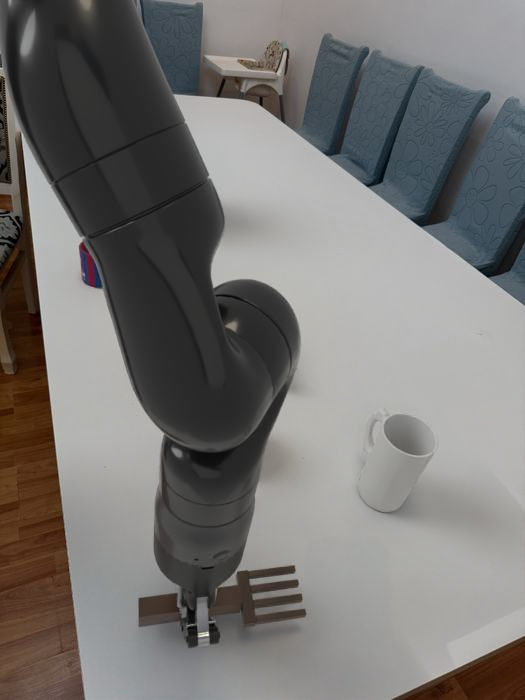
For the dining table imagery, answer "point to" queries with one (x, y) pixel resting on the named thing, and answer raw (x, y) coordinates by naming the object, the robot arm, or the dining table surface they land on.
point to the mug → (394, 458)
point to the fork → (231, 600)
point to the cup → (89, 268)
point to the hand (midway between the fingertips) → (189, 609)
